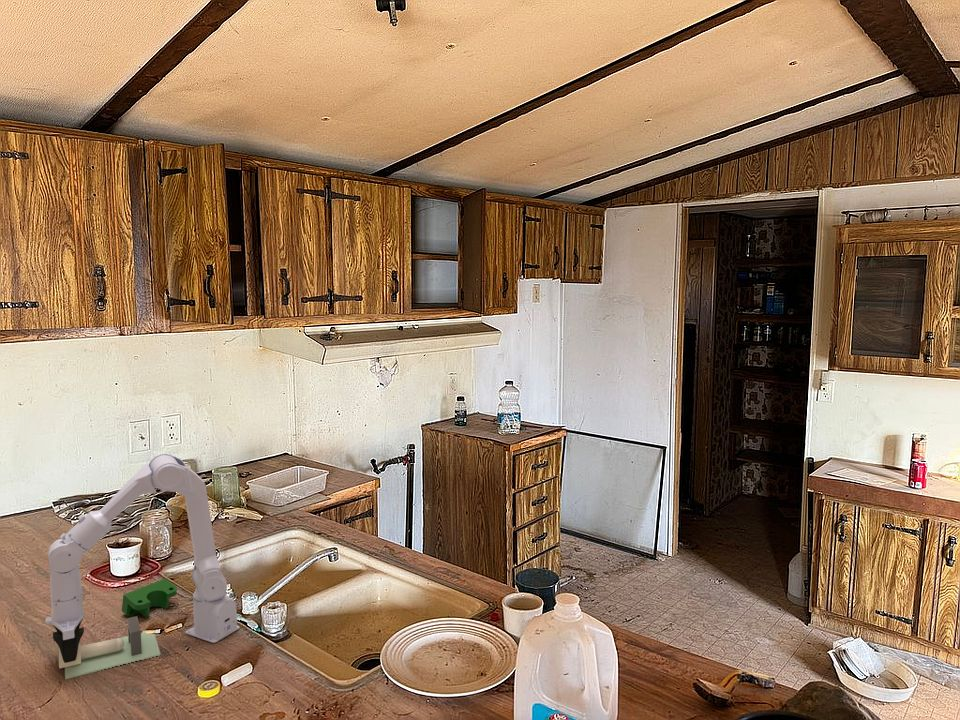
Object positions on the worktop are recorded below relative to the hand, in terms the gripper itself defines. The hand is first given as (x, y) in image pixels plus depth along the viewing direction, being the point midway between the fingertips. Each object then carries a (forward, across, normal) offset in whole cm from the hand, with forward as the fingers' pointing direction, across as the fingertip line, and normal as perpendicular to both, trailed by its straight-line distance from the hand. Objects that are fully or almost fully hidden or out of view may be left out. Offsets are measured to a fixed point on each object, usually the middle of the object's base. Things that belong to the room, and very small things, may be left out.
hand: (69, 655), depth 146 cm
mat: (+2, 0, +8) cm, 8 cm away
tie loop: (+2, 0, +12) cm, 13 cm away
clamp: (+2, -18, +18) cm, 25 cm away
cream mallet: (+1, 0, +4) cm, 4 cm away
